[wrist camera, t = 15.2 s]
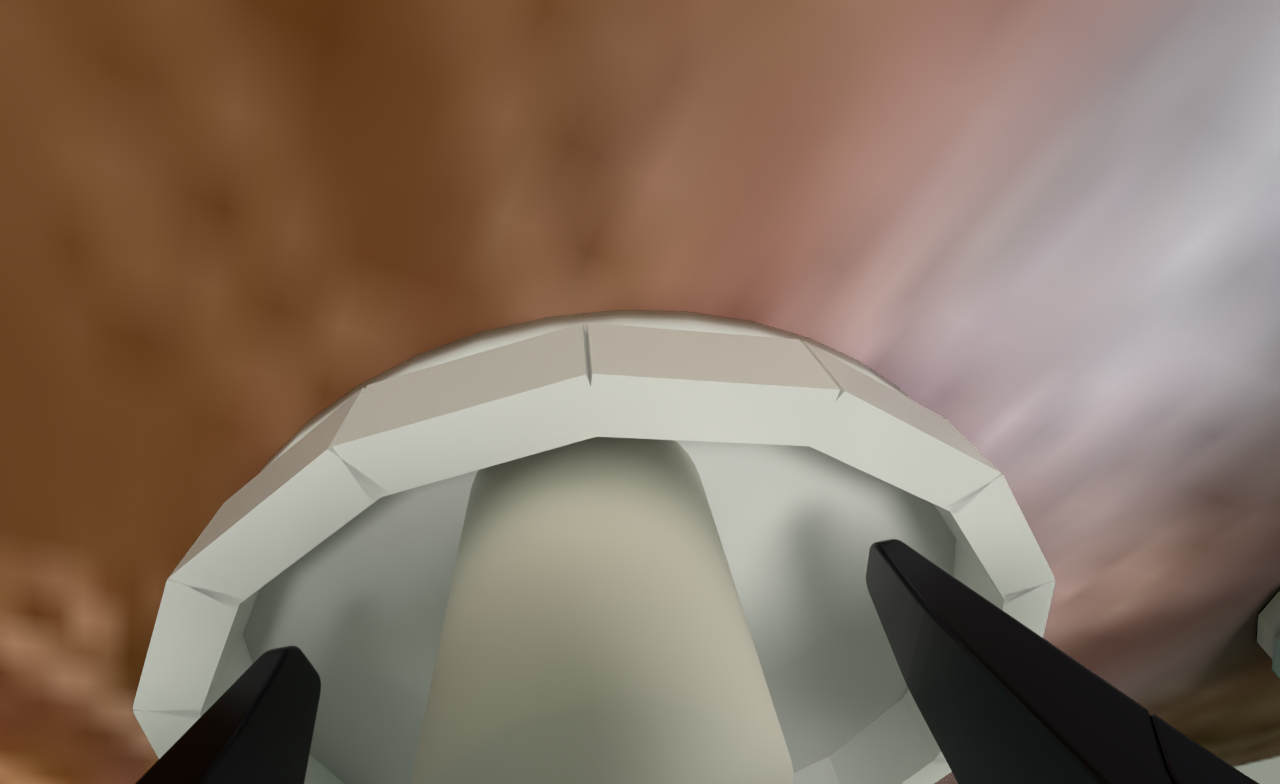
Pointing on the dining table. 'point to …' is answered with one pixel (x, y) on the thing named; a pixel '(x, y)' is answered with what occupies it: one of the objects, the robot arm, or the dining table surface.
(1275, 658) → the disposable coffee cup
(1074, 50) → the dining table surface
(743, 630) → the cream bead
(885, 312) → the dining table surface
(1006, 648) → the robot arm
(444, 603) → the groove dish
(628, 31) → the dining table surface
